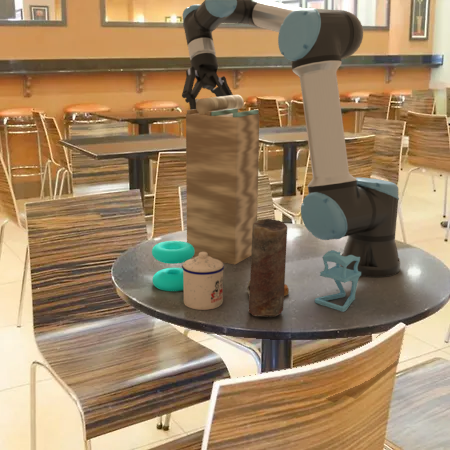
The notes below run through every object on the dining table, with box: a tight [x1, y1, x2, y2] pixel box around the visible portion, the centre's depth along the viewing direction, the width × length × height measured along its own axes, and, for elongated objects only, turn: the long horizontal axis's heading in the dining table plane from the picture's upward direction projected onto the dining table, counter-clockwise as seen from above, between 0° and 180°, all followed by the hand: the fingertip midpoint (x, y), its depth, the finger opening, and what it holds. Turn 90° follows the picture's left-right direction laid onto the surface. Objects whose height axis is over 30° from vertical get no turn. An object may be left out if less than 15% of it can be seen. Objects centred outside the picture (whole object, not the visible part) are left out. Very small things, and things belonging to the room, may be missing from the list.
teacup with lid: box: [181, 252, 225, 311], centre depth 145 cm, size 12×9×12 cm
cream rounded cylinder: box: [196, 94, 244, 114], centre depth 175 cm, size 18×4×4 cm, turn 149°
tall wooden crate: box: [185, 108, 260, 265], centre depth 174 cm, size 12×15×39 cm
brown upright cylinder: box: [248, 218, 288, 318], centre depth 136 cm, size 8×7×20 cm
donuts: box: [151, 240, 195, 292], centre depth 154 cm, size 10×10×10 cm
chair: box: [314, 249, 362, 312], centre depth 144 cm, size 8×8×12 cm
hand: (216, 126), depth 182 cm, fingers open, 13 cm apart
